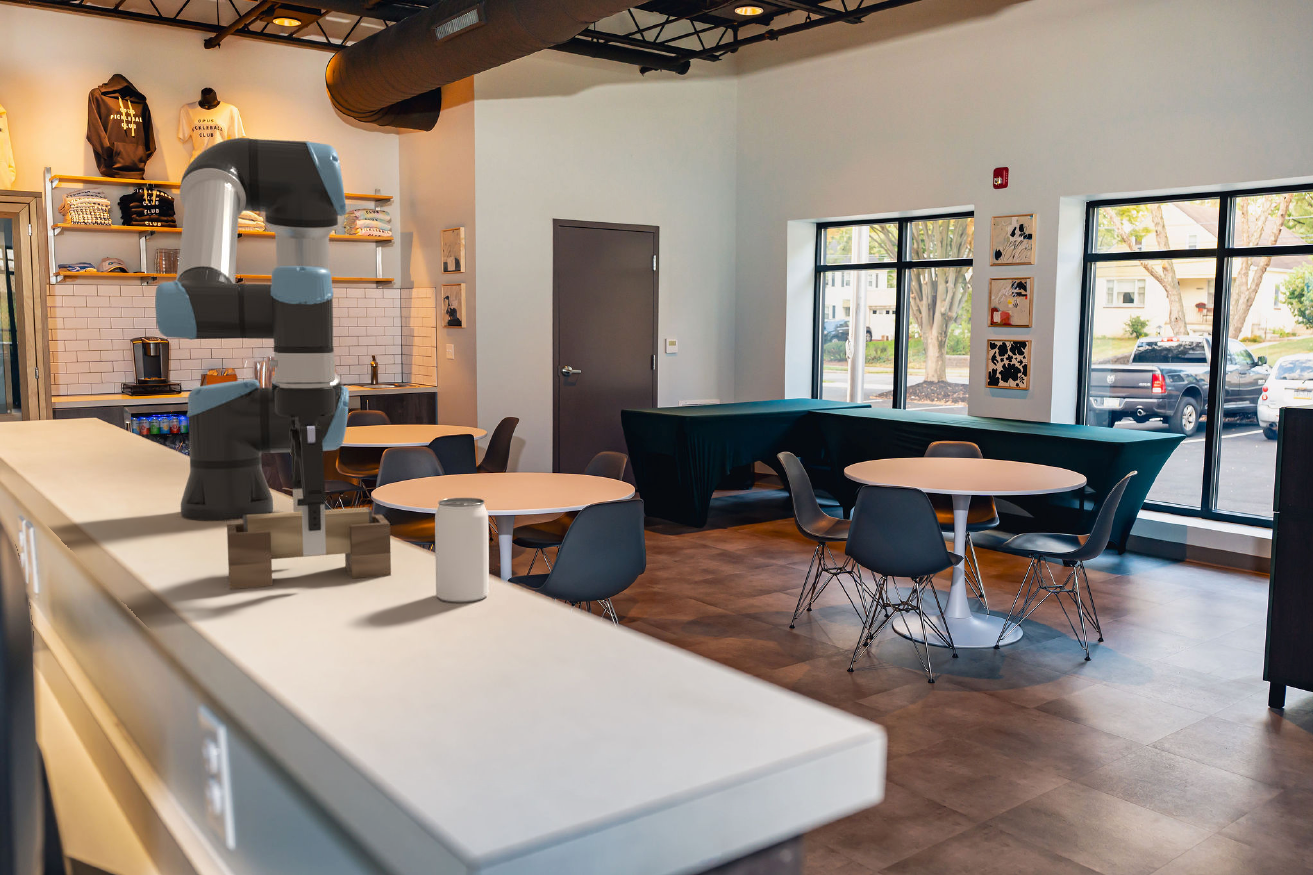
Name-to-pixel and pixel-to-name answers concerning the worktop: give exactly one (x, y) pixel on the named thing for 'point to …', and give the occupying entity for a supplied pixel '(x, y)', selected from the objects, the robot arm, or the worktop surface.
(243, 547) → the post
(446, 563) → the can
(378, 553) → the post
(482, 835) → the worktop surface
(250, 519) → the rail
